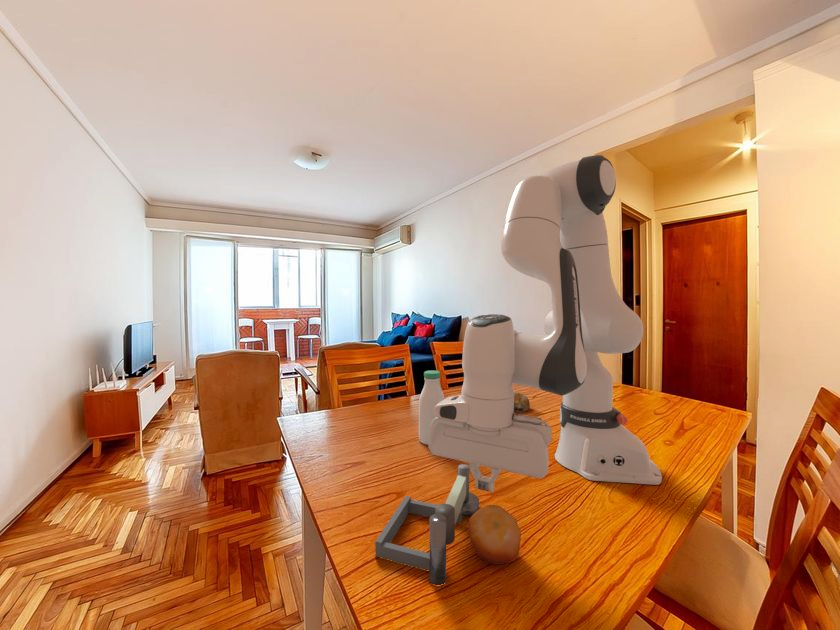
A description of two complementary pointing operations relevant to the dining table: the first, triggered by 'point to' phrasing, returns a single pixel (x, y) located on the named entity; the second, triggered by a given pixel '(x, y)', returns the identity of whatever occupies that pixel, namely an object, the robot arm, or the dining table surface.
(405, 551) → the gray frame
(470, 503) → the base
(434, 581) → the post
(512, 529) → the fruit
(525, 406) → the bread roll
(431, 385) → the milk bottle
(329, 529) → the dining table surface
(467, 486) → the gate
